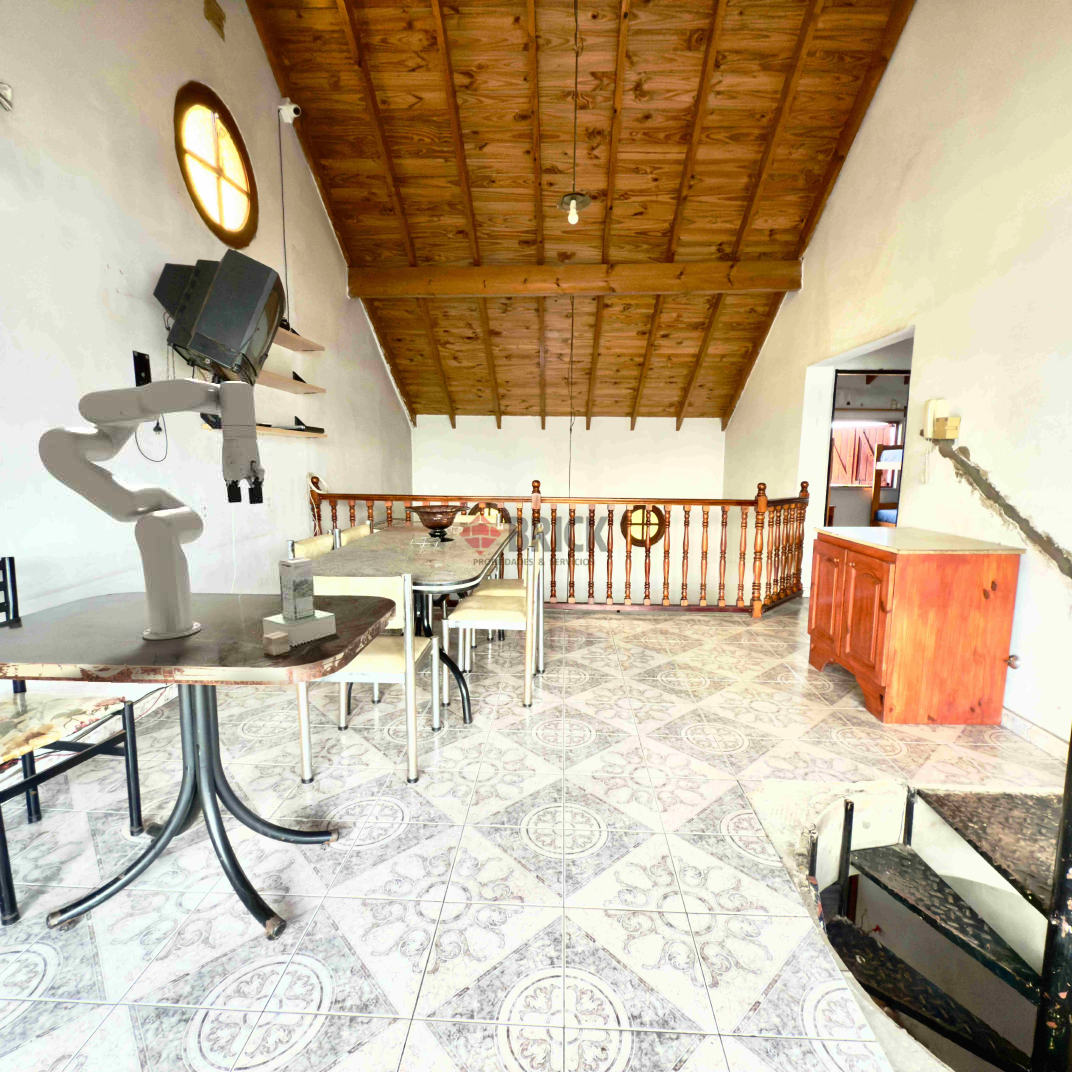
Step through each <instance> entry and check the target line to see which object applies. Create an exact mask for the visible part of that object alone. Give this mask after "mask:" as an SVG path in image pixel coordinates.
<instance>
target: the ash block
mask: <svg viewBox="0 0 1072 1072" xmlns="http://www.w3.org/2000/svg"><path fill="white" fill-rule="evenodd" d="M262 642H263V646H262V647H263V653H265V654H268V655H272V656H278V655H280V654H284V653H286V652H289V650H290V651H291V646H290V640H289V634H287V633H283V632H279V631H278V632H275V633H271V634H268V635H264V634H263V635H262Z"/></svg>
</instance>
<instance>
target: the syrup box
mask: <svg viewBox="0 0 1072 1072" xmlns="http://www.w3.org/2000/svg"><path fill="white" fill-rule="evenodd" d="M313 568H314V567H313V559H310V558H307V557H295V558H288V559H282V560H278V572H279V574H278V575H279V585H280V586H279V588H280V601H281V602H280V603H281V614H282V616H283V617H285V618H288V619H292V620H297V619H302V618H306V617H309V616H313V615H315V610H316V609H315V607H316V606H315V589H314V588H315V587H314V584H315V583H314V571H313Z"/></svg>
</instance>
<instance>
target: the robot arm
mask: <svg viewBox="0 0 1072 1072" xmlns="http://www.w3.org/2000/svg"><path fill="white" fill-rule="evenodd" d="M254 396H255V395H254V389H253V386H252V385H251V384H250V383H248V382H244V381H243V382H242V381H223V382H221V383H219V384H217V383H213V382H212V383H211V382H207V381H203V380H200V379H199V380H198V379H194V378H175V379H165V380H157V381H153V382H149V383H147V384H144V385H142V386H134V387H125V388H124V387H123V388H116V389H115V388H114V389H113V388H112V389H106V390H98V391H92V392H89V393H86V394H85V395H83V396H82V397H81V398H80V399H79V402H78V404H77V405H78V406H77V407H78V412H79V414H80V416H81V417H82V418H83V419H84V420H86V422H88V423H89V424H92V425H94V427H93V428H88V427H78V426H77V427H75V426H71V427H70V426H60V427H56V428H52V429H49V430H47V431H46V432H44V433H43V434H42V435H41V436H40V437H39V440H38V454H39V458H40V460H41V463H42V465H43V467H45V470H46V471H47V472H48V473H49V475H51V477H53V478H54V479H56V480H57V481H58V482H59V483H61V484H63V486H66V487H67V488H69V489H70V490H72V491H74V492H75V493H77V494H78V495H79V496H81V497H83V498H84V499H85V500H87V501H88V502H89V503H91V504H92V505H93V506H96V508H98V509H99V510H101V511H102V512H104V513H105V514H107V515H108V516H110V517H111V518H112V519H113V520H116V521H117V522H120V523H135V522H136V523H135V525H134V537H135V538H134V539H135V541H136V543H137V548H138V550H139V554H140V556H141V557H140V558H141V562H142V570H143V576H144V577H143V578H144V586H145V595H146V604H147V613H148V622H149V628H147V629H145V630H144V631H143V632H142V635H143V638H144V639H147V640H153V641H155V640H157V641H159V640H170V639H177V638H180V637H186V636H189V635H192V634H195V633H196V632H199V631H200V630H201V629H202V625H201V623H200V622H197V621H194V613H193V605H192V604H193V603H192V595H191V593H192V592H191V583H190V582H191V581H190V574H189V573H190V571H189V565H188V560H187V556H186V555H185V552H184V550H183V549H182V546H181V545H185V544H190V543H191V542H194V541H196V540H198V539H199V538H200V536H201V535H202V534H203V532H204V523H203V519H202V517H201V516H200V515H199V514H198V513H197V512H196V510H194V509H193V508H191V506H189V505H187V504H186V503H185V502H183V501H181V500H180V499H179V498H177V497H176V496H174V495H173V494H172V493H170V492H169V491H168V490H166V489H164V488H162V487H160V486H158V485H155V484H152V483H151V484H150V483H129V482H126V481H124V480H123V479H121V478H119V477H118V476H117V475H115V474H113V472H111V471H110V470H108V469H107V468H104V467H102V466H100V465H98V464H95V463H96V462H97V463H98V462H100V463H101V462H106V461H109V460H111V459H113V458H114V457H116V456H117V455H118V453H119V452H120V451H121V450H122V449H123V448H124V447H125V445H126V444H127V442H128V441H129V440H130V438H131V437H132V436H133V435H134V433H135V432H136V430H137V429H138V428H139V426H140V424H141V423H151V422H156V421H157V420H159V419H160V417H161V415H165V414H172V413H181V412H183V413H184V412H192V413H200V414H206V415H207V414H208V415H220V420H221V431H222V446H221V447H222V448H221V466H222V469H221V470H222V471H221V472H222V476H223V477H222V478H223V480H224V482H225V487H226V492H227V493H226V494H227V503H229V504H233V503H234V504H235V503H242V501H243V499H242V498H243V497H242V490H241V489H242V488H241V486H239V485H240V484H241V483H240V482H241V481H243V480H246V482H247V484H248V485H249V487H248V500H249V501H248V502H249V504H250V505H258V504H263V503H264V496H263V487H264V480H265V473H266V470H265V469H264V467H262V466H261V459H260V451H259V446H258V441H257V440H258V435H257V422H256V408H255V397H254ZM94 462H95V463H94Z"/></svg>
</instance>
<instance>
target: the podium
mask: <svg viewBox="0 0 1072 1072" xmlns="http://www.w3.org/2000/svg"><path fill="white" fill-rule="evenodd" d="M335 615H336V614H335V613H331V612H326V611H322V610H320V609H319V610H318V609H315V615H313V616H309V617H306V618H302V619H297V620H292V619H288V618H285V617H283V616H282V613H279V614H276V615H271V616H268V617H263V618H262V624H263V625H262V626H263V627H262V628H263V636H264V635H268V634H271V633H275V632H278V631H279V632H283V633H287V634H289V640H290V645H291V646H290V647H296V646H299V645H301V643H302V644H305V643H307V642H308V641H309V642H312V641H315V640H317V639H321V638H324V637H328V636H330V635H334V634H336V633H337V632H336V631H337V630H336V629H337V627H336V616H335ZM314 639H315V640H314ZM311 640H312V641H311ZM304 642H305V643H304ZM309 642H308V643H309ZM298 644H299V645H298ZM295 645H296V646H295Z"/></svg>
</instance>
